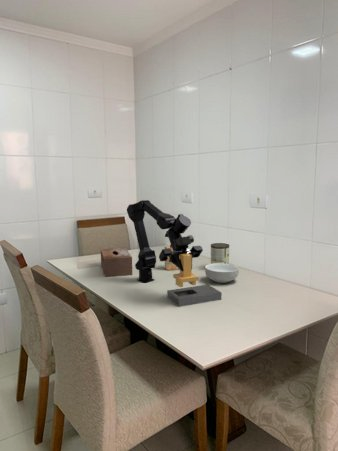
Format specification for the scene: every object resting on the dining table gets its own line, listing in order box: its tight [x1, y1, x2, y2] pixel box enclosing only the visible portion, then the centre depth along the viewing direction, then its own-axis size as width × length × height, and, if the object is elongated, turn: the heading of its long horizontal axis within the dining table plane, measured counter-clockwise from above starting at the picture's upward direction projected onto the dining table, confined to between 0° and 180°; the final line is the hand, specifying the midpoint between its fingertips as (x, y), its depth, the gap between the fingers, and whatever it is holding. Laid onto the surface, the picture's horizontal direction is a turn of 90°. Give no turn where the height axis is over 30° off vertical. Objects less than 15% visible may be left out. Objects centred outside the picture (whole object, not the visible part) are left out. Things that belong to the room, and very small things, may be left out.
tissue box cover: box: [100, 247, 133, 278], centre depth 198 cm, size 26×14×10 cm, turn 15°
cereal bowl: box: [204, 263, 240, 284], centre depth 177 cm, size 17×17×7 cm
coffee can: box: [210, 242, 230, 264], centre depth 196 cm, size 10×10×14 cm
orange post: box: [172, 253, 200, 288], centre depth 149 cm, size 8×8×13 cm
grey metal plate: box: [166, 284, 222, 307], centre depth 152 cm, size 12×20×3 cm, turn 114°
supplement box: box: [164, 245, 180, 271], centre depth 198 cm, size 8×5×13 cm, turn 105°
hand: (187, 270), depth 148 cm, fingers closed on orange post, 4 cm apart
